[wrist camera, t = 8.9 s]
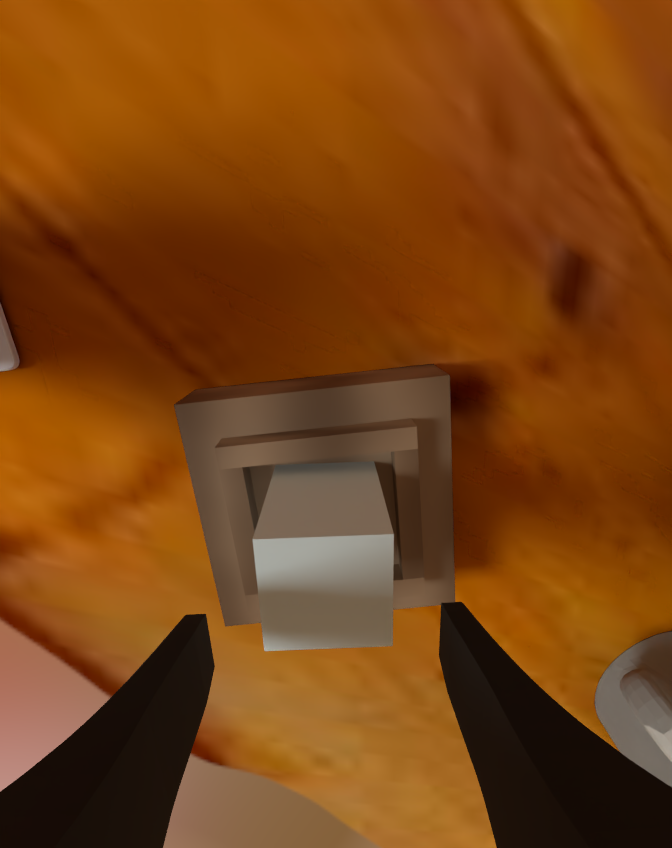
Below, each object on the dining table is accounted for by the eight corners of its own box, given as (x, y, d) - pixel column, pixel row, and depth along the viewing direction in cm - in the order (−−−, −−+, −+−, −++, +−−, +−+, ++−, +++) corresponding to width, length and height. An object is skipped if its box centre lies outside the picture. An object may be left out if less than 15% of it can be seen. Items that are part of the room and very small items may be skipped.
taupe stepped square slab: (237, 587, 24) (219, 645, 20) (195, 389, 21) (163, 412, 17) (439, 566, 24) (462, 621, 20) (432, 363, 21) (458, 380, 17)
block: (282, 549, 20) (264, 651, 14) (275, 464, 19) (252, 539, 13) (374, 546, 20) (392, 645, 14) (374, 461, 19) (393, 533, 13)
